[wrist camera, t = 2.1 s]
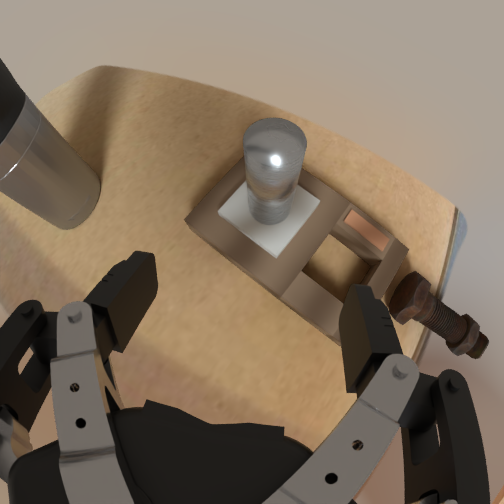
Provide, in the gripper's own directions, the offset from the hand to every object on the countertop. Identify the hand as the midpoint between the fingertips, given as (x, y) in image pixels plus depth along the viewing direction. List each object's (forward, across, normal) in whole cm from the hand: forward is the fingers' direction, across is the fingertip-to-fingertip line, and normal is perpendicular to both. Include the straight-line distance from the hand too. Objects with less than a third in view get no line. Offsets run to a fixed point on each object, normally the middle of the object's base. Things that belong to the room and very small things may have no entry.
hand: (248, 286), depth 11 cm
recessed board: (+18, -4, +7) cm, 19 cm away
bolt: (+13, -22, +12) cm, 28 cm away
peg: (+16, 0, +2) cm, 16 cm away
